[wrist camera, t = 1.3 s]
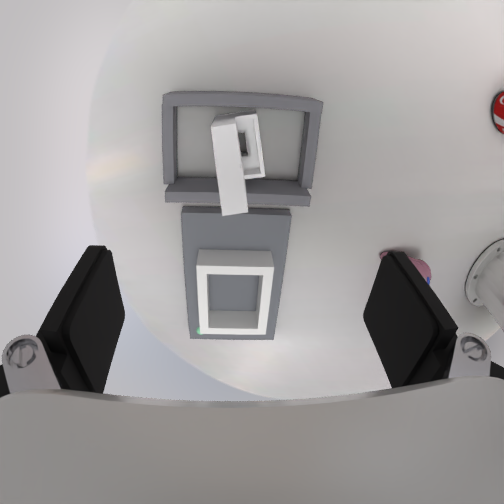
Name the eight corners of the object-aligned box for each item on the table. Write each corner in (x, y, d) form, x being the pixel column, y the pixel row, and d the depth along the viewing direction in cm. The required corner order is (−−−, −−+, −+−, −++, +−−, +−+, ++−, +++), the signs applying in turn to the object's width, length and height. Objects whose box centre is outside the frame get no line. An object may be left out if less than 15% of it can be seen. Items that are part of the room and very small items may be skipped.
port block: (289, 209, 33) (296, 229, 29) (272, 331, 43) (275, 356, 39) (183, 206, 32) (176, 226, 29) (191, 330, 42) (188, 355, 38)
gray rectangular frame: (317, 98, 27) (328, 102, 24) (305, 190, 32) (314, 206, 29) (166, 92, 26) (156, 95, 23) (167, 186, 31) (160, 202, 28)
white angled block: (232, 222, 31) (222, 216, 22) (219, 125, 31) (206, 88, 22) (269, 216, 31) (274, 208, 22) (254, 120, 31) (253, 81, 22)
